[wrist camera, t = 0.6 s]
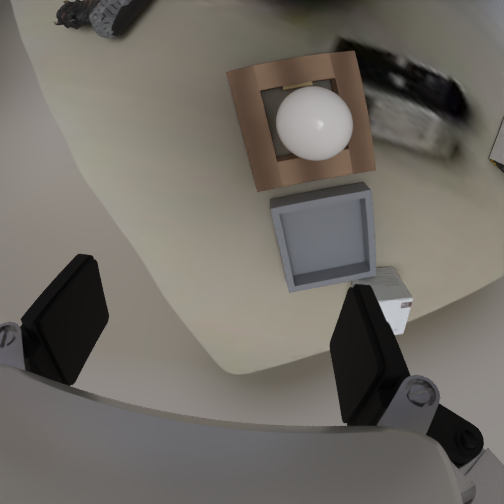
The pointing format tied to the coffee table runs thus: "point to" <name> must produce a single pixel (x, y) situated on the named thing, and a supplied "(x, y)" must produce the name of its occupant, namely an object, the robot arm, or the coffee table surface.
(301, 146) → the lightbulb
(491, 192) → the coffee table surface
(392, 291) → the skincare box
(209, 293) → the coffee table surface
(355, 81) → the socket collar
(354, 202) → the tray
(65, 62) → the coffee table surface
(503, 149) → the medicine bottle
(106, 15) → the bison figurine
